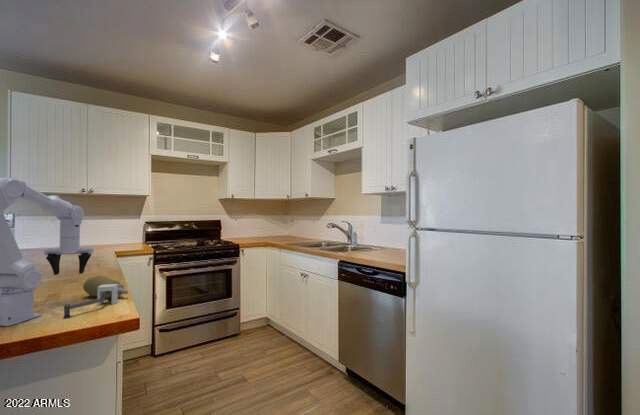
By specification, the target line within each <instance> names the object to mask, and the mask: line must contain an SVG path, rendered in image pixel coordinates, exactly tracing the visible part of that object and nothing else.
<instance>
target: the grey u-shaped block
mask: <svg viewBox="0 0 640 415" xmlns="http://www.w3.org/2000/svg"><path fill="white" fill-rule="evenodd" d="M104 291H112V301H111V305H115V304H116V303H117V302H118V300H119V299H118V298H119V296H118V284H106V285H100V286H99V287H98V290H97V297H96V299H99V298H101V297H103V296H104ZM104 302H105V300H104V301H103V302H98V303H96V306H101V305H102V304H104Z"/></svg>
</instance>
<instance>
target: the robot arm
mask: <svg viewBox="0 0 640 415" xmlns="http://www.w3.org/2000/svg"><path fill="white" fill-rule="evenodd" d="M60 197H61V196H59V195H57V194H55V195H54V194H53V195H52V194H51V195H46V194H44V193H42V192H40V191H39V190H37V189H35V188H33V187H31V186H30V185H28V184H27V183H26V181H24V180H20V179H18V178H16V177H0V327H9V326H12V325H13V326H14V325H17V324H20V323H23V322H24V321H28V320H31V319H34V318H37V317H40V316H42V314H41V313H34V308H35V307H34V305H35V301H34V300H35V299H34V298H35V297H34V296H35V290H37V287H38V286H39V284H40V283H41V280H42V274H41V272H40V271H39V270H38V269H36V267H35V266H34V264H33V263H32V262H30V261H28V260H26V259H25V258H24V257H23V254H22V253H21V250H20V247H19V246H18V244H17V241H16V239H15V236H14V234H13V232H12V230H11V227H10V226H9V223H8V221H7V218H6V217H5V214H4V212H5V210H6V209H7V208H9V207H10V206H11V205H13V204H14V203H15V202H16V201H17V200H19V199H20V198H21V199H23V200H27V201H28V202H31V203H34V204H38V205H39V207H40V209H41V210H42V211H45V212H47V213H48V214H52V215H54V216H55V217H56V218H57V220H59V248H49V249H48V248H47V249H44V250H43V255H44V256H45V259H46V260H47V262H48V263H49V264H50V266H51V269H52V273H53V275H54V276H58V275H59V274H60V263H61V262H60V261H61V257H62V255H77V256H78V263H79V266H78V274H79V275H82V274H84V272H85V269H86V266H87V263H88V261H89V260H90V258H91V256H92V254H94V253H95V251H94V247H93V248H92V247H80V245H81V243H80V242H81V241H80V240H81V239H80V236H81V235H80V234H81V225H82V223H83V218H84V217H85V212H84V209H83V208H82V207H81V206H80V205H77V204H72V203H71V202H70V201H66V200H64V199H61V198H60Z"/></svg>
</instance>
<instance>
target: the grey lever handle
mask: <svg viewBox="0 0 640 415" xmlns="http://www.w3.org/2000/svg"><path fill="white" fill-rule="evenodd" d="M108 297H109V298H108ZM106 299H107V302H112V291H109V292H108V293H107V294H105V295H104V296H103V297H101V298H99V299H97V298H96V299H91V300H87V301H83V302H78V303H75V304H67V303H66V304H64V305H63V316H62V318H63V319H70V318H71V316H72V315H71V310H73V309H76V308H82V307H87V306H89V305H93V304H97V303H98V302H103V301H104V302H105V300H106ZM104 302H103V303H104Z"/></svg>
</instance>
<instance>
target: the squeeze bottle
mask: <svg viewBox="0 0 640 415" xmlns="http://www.w3.org/2000/svg"><path fill="white" fill-rule="evenodd" d="M106 284H118V297H121V296H122V295H127V294H128V293H129V291H128V290H127V289H125V286H124V285H123V284H121V283H120V282H119V281H118V280H114V279H112V278H109V277H106V276H102V275H98V276H93V277H89V278H87V279H86V280H85V281H84V283H83V286H82V289H83V291H84V292H85V293H86V294H88V295H89V296H90V297H95V298H97V290H98V287H99V286H100V285H106ZM108 292H109V291H104V295H105V294H107V293H108ZM107 299H109V297H108V298H107Z"/></svg>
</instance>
